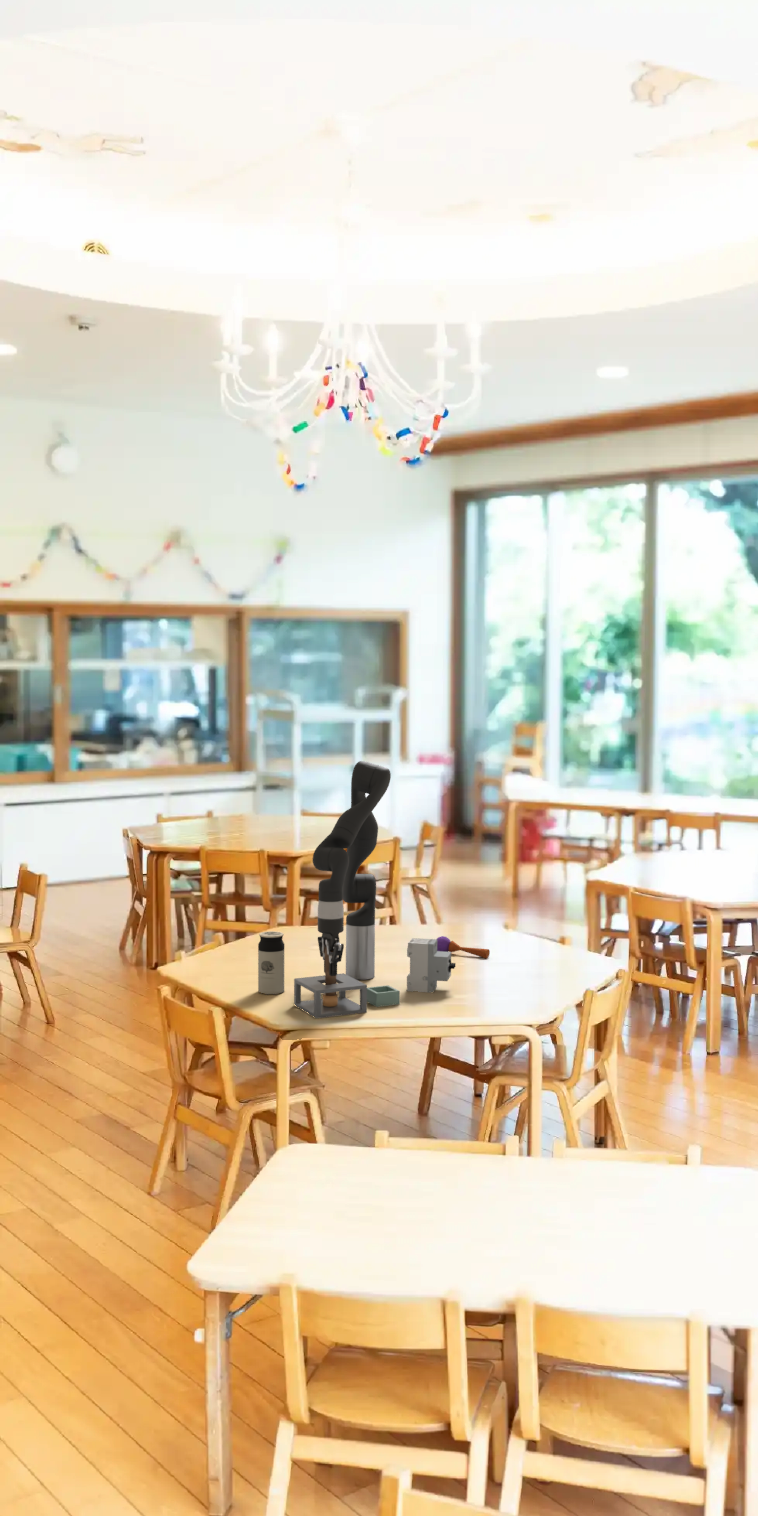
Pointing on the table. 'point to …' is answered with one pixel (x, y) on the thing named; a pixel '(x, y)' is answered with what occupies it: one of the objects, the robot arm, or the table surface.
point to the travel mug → (271, 963)
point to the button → (330, 1000)
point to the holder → (383, 996)
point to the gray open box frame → (318, 988)
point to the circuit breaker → (427, 965)
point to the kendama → (459, 948)
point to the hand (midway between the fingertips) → (330, 973)
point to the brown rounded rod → (329, 978)
